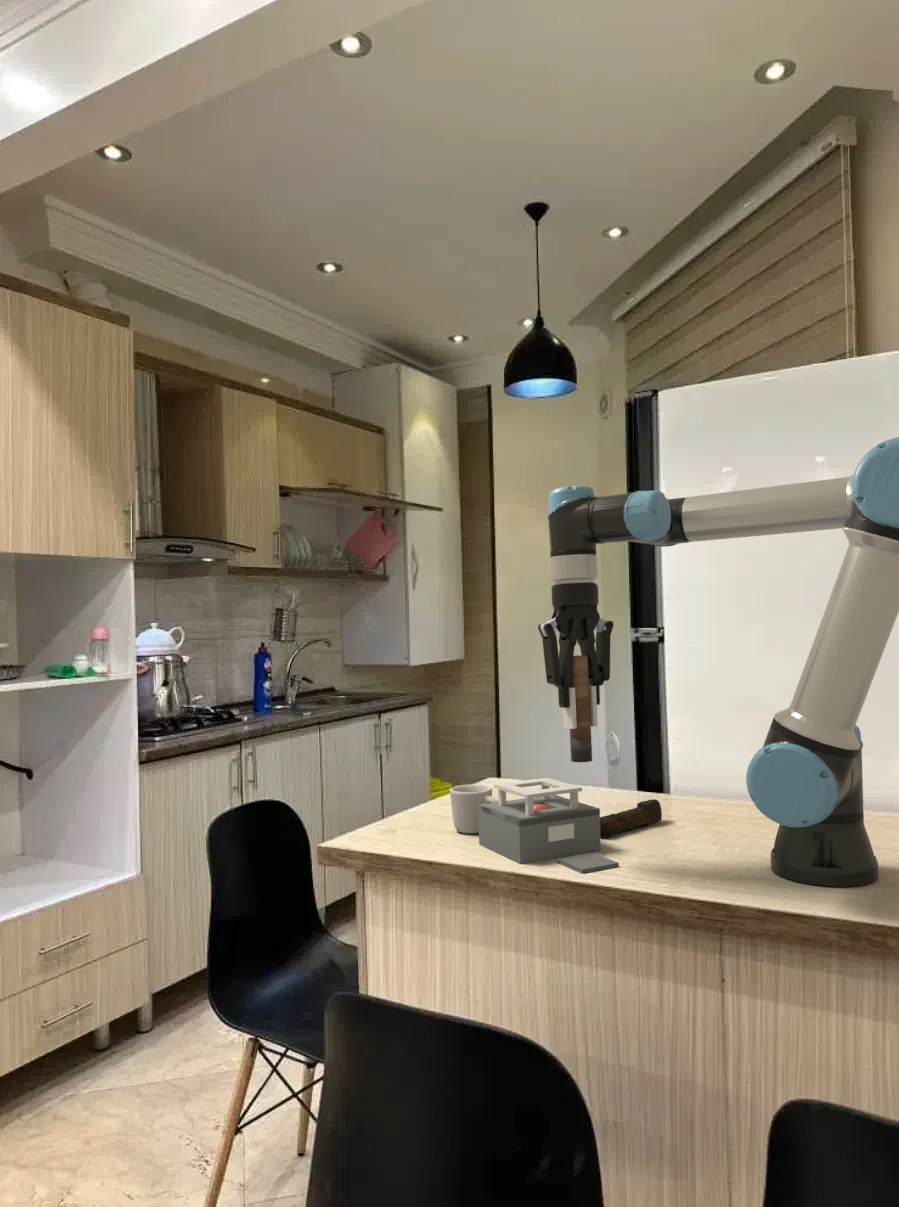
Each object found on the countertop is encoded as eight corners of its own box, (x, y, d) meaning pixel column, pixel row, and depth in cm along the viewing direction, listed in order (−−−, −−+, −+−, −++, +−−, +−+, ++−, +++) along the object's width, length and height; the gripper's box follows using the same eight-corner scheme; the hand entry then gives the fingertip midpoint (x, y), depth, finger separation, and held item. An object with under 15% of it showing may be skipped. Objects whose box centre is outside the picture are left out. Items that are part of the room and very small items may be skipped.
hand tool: (604, 841, 156) (604, 815, 156) (588, 837, 159) (587, 811, 159) (672, 824, 167) (672, 800, 167) (656, 820, 170) (655, 796, 170)
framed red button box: (601, 850, 149) (599, 787, 149) (520, 864, 142) (519, 798, 142) (555, 832, 162) (553, 775, 162) (479, 844, 155) (477, 784, 155)
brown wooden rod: (596, 760, 141) (591, 655, 142) (578, 763, 140) (574, 656, 140) (584, 758, 144) (579, 655, 145) (567, 760, 143) (562, 656, 143)
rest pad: (618, 866, 139) (618, 862, 139) (582, 873, 136) (582, 869, 136) (592, 856, 145) (592, 852, 146) (557, 862, 142) (557, 858, 142)
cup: (513, 832, 163) (512, 789, 163) (485, 841, 157) (484, 796, 157) (470, 823, 170) (469, 782, 170) (442, 832, 164) (441, 789, 164)
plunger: (550, 847, 151) (549, 806, 151) (536, 849, 150) (535, 808, 150) (541, 843, 154) (540, 803, 154) (527, 845, 153) (525, 805, 153)
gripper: (602, 583, 150) (608, 720, 149) (519, 584, 143) (525, 729, 142) (629, 580, 143) (635, 724, 142) (543, 581, 136) (549, 733, 135)
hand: (580, 726), depth 142 cm, fingers closed on brown wooden rod, 3 cm apart
